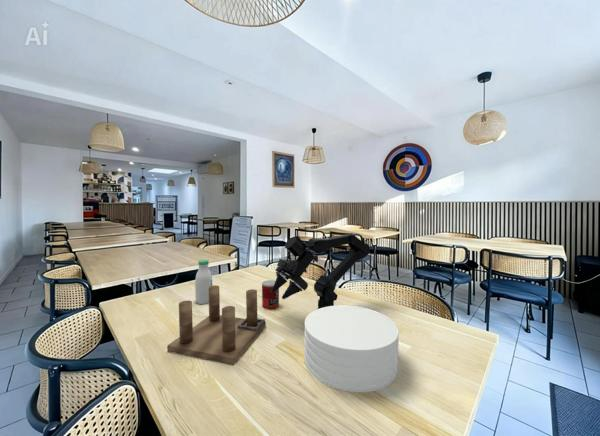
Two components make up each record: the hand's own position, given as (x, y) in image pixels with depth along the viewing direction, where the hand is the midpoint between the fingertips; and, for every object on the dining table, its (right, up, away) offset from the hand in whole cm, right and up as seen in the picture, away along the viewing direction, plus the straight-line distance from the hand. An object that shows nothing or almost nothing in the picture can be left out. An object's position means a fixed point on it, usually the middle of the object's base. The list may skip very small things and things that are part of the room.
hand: (277, 294), depth 102 cm
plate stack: (+24, -14, -22) cm, 35 cm away
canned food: (-5, -11, +18) cm, 22 cm away
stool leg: (-9, -10, -5) cm, 14 cm away
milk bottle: (-37, -10, +23) cm, 45 cm away
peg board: (-19, -12, -10) cm, 25 cm away
